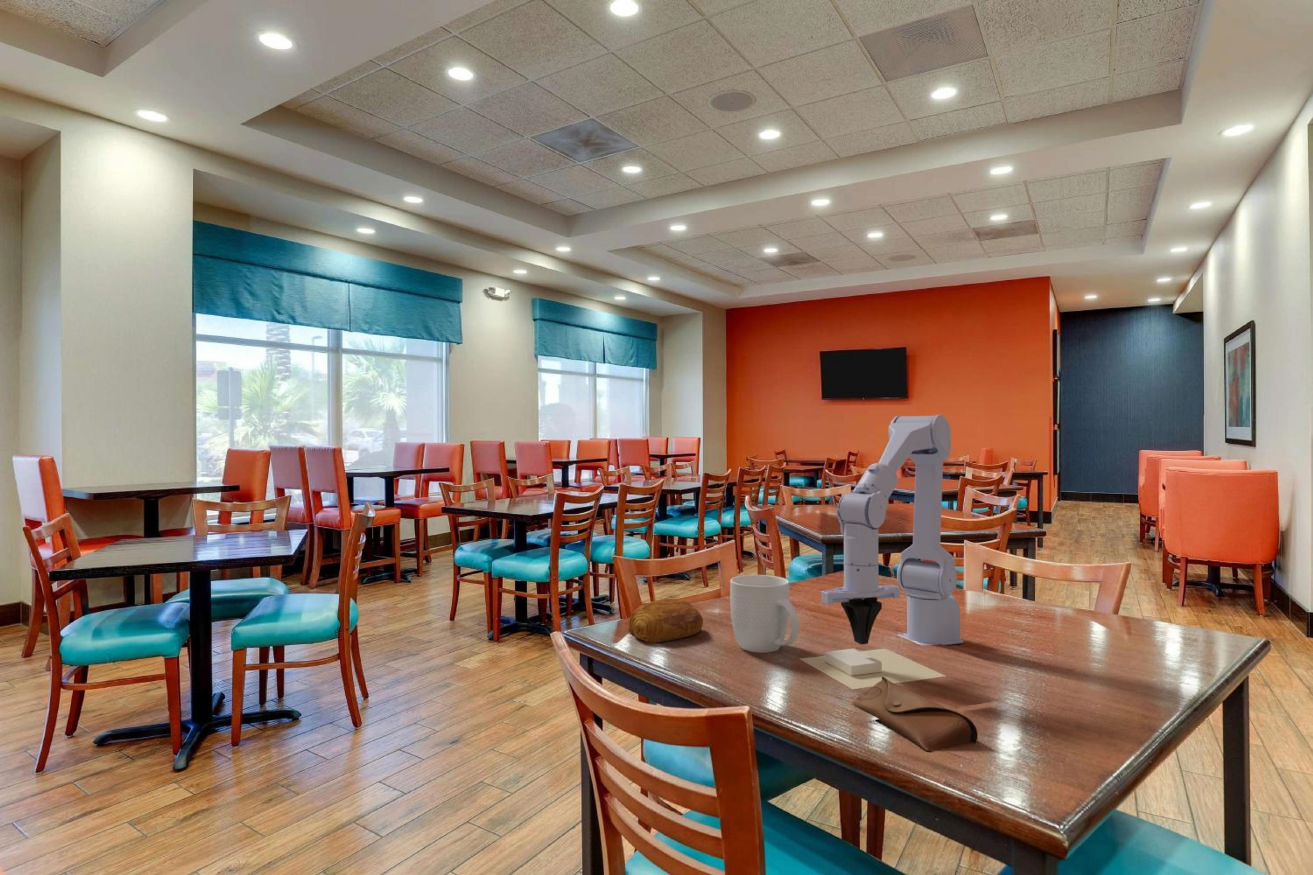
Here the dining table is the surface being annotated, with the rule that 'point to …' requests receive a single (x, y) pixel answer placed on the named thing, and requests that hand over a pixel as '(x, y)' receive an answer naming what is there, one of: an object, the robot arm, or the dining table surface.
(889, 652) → the mat
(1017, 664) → the dining table surface
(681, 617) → the brown rounded lump
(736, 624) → the mug
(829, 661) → the tile
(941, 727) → the sunglasses case
